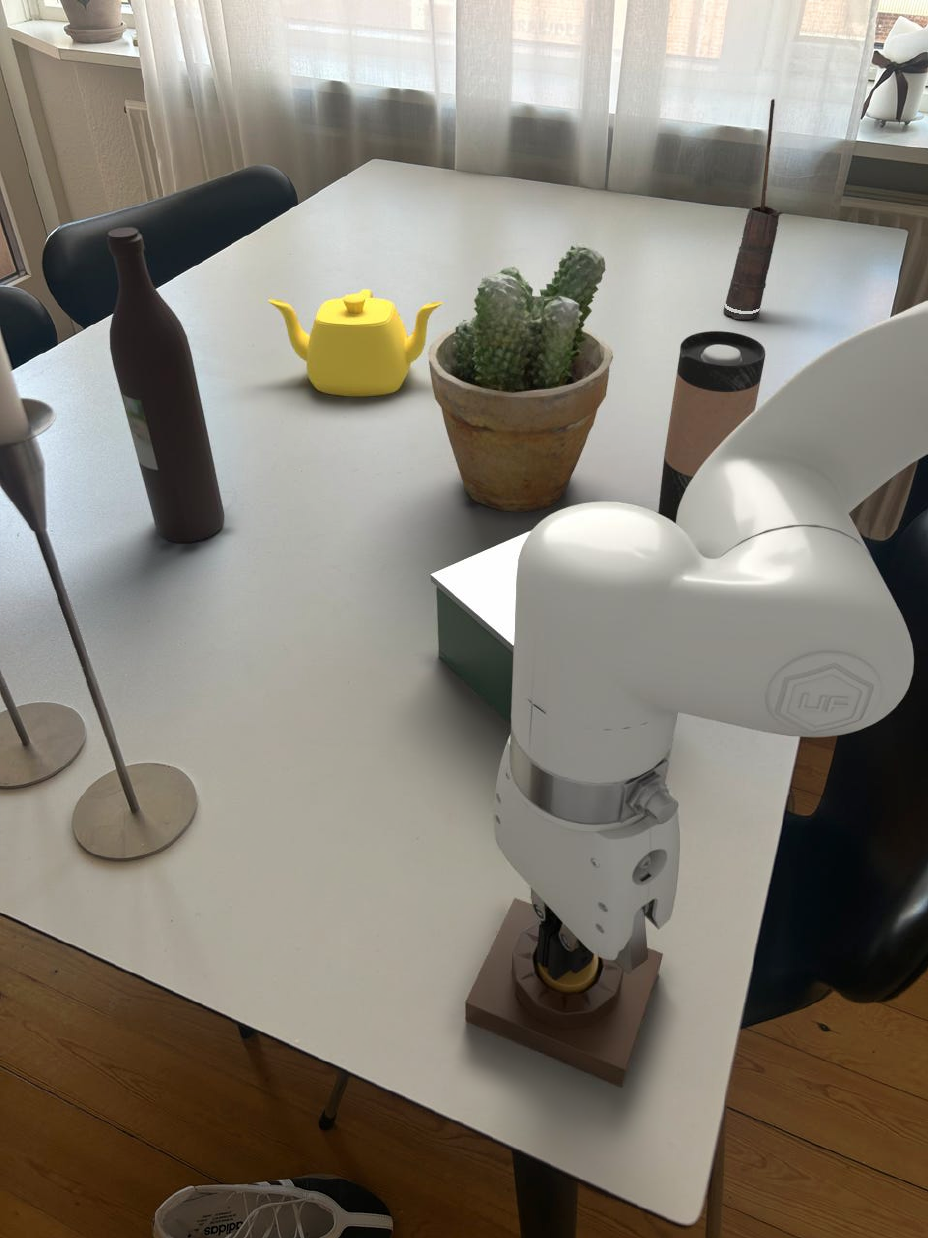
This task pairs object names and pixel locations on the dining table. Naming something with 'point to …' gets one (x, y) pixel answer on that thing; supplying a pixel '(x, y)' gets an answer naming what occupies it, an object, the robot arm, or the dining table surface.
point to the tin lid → (486, 587)
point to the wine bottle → (162, 400)
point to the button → (570, 979)
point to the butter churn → (754, 251)
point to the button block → (560, 1003)
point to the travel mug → (707, 405)
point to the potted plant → (523, 383)
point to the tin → (475, 655)
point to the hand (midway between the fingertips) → (565, 957)
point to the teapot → (357, 344)
